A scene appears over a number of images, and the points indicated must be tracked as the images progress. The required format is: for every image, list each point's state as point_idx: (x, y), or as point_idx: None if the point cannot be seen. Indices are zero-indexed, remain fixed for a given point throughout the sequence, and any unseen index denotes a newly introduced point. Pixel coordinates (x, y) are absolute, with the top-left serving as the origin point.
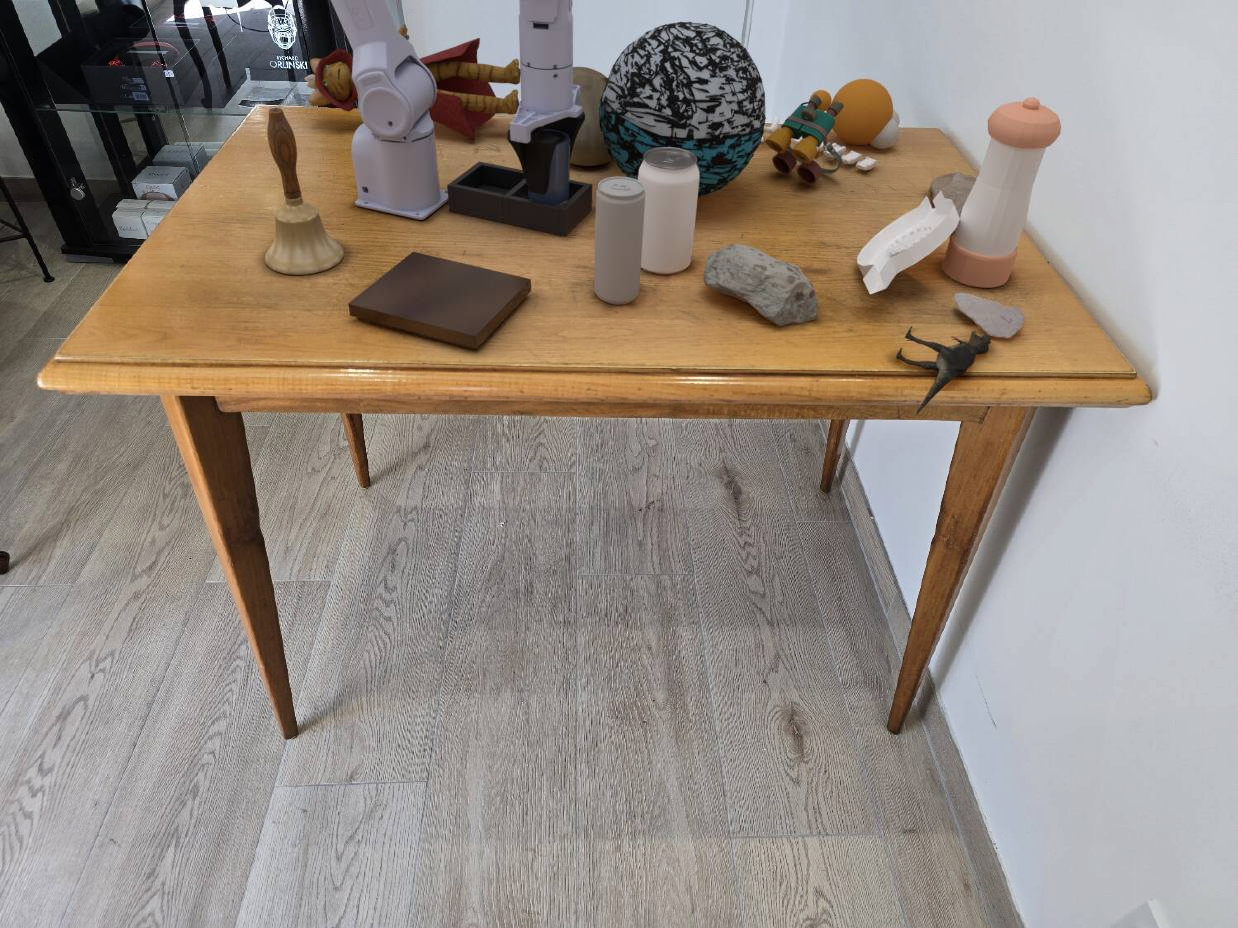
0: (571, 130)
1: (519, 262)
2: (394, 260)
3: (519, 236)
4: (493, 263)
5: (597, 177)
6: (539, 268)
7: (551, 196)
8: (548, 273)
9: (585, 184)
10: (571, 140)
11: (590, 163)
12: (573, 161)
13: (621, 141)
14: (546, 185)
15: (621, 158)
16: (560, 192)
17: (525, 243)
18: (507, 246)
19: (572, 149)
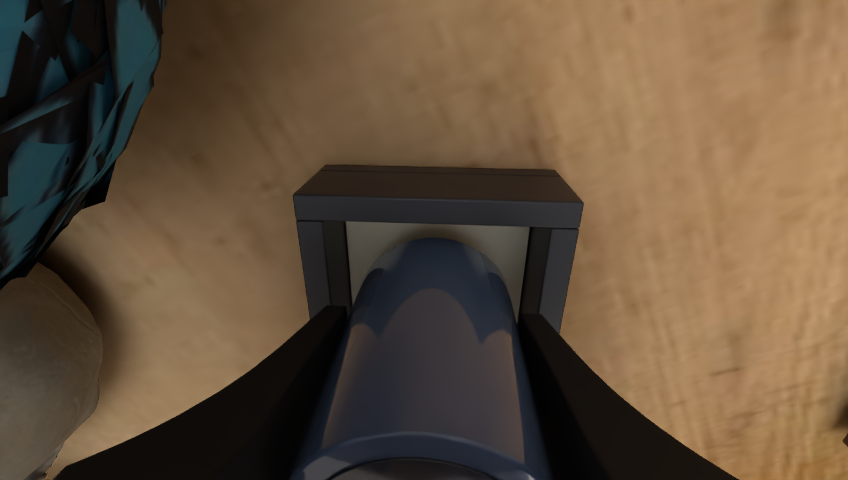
0: (246, 469)
1: (767, 232)
2: (788, 470)
3: (592, 291)
4: (782, 292)
5: (99, 236)
6: (806, 161)
7: (504, 289)
8: (843, 118)
9: (311, 219)
10: (273, 409)
11: (58, 283)
12: (95, 330)
13: (48, 82)
14: (556, 331)
15: (140, 77)
16: (482, 270)
17: (633, 261)
18: (664, 297)
19: (262, 362)
